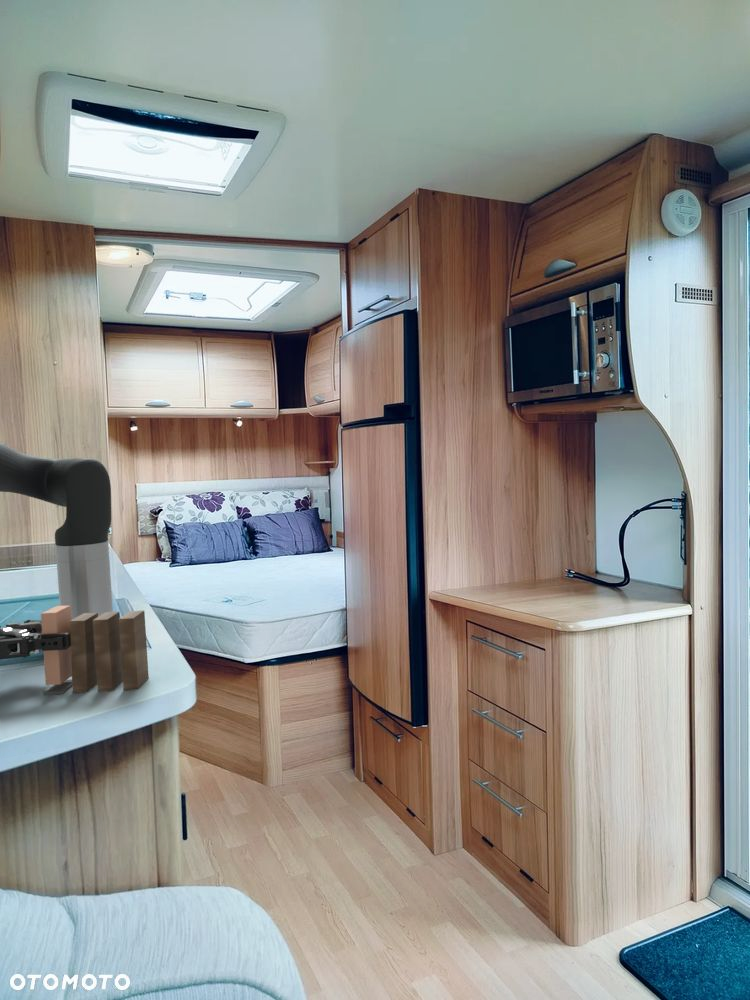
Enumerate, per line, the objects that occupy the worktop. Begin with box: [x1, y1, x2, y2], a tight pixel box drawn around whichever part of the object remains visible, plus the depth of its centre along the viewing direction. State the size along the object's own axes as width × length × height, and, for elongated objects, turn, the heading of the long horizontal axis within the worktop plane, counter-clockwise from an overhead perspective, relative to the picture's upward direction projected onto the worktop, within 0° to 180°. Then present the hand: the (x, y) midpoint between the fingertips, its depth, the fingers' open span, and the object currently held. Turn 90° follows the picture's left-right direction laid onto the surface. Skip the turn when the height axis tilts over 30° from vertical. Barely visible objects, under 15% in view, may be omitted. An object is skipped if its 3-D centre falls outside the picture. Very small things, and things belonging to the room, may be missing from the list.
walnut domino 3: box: [119, 609, 150, 691], centre depth 97 cm, size 2×5×10 cm, turn 2°
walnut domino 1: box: [70, 613, 98, 693], centre depth 97 cm, size 2×5×10 cm, turn 2°
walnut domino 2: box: [93, 611, 123, 692], centre depth 97 cm, size 2×5×10 cm, turn 2°
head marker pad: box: [43, 678, 72, 696], centre depth 97 cm, size 3×6×1 cm, turn 2°
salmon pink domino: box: [40, 605, 72, 686], centre depth 97 cm, size 2×5×10 cm, turn 2°
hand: (76, 636), depth 97 cm, fingers closed on salmon pink domino, 4 cm apart
